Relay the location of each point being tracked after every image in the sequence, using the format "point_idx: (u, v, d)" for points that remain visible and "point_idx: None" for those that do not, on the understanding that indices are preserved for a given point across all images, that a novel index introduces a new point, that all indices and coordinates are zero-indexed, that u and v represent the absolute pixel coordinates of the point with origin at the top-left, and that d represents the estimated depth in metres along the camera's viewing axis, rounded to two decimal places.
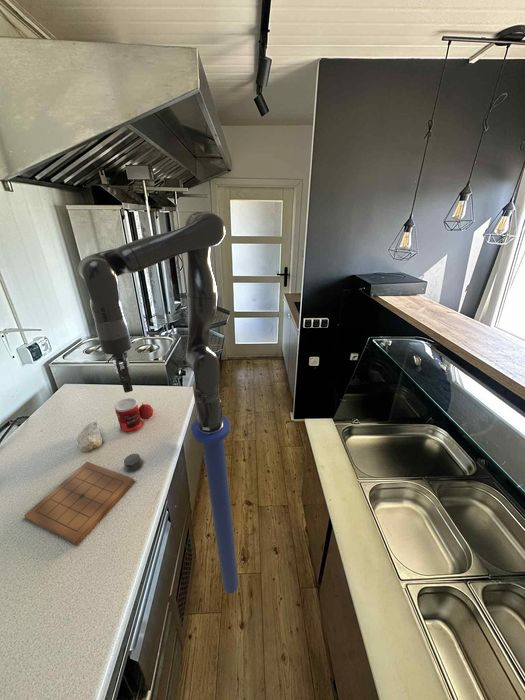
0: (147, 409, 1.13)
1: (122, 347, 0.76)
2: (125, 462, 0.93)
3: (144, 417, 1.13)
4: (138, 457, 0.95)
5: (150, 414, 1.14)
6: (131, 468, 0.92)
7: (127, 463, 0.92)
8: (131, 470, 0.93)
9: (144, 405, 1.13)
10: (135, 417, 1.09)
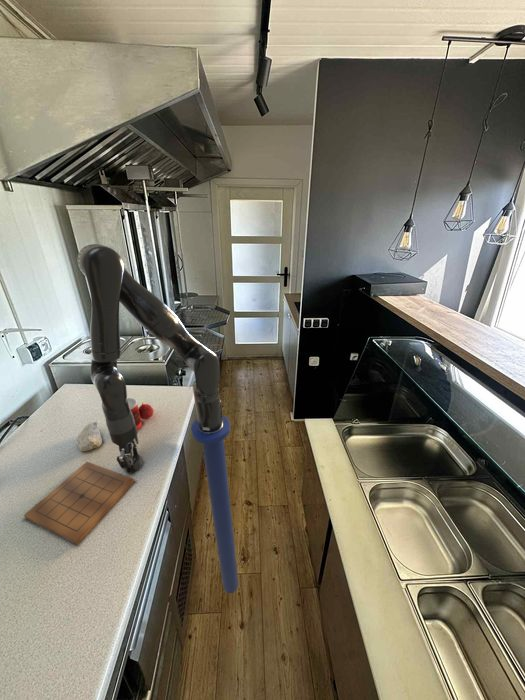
0: (147, 409, 1.13)
1: (125, 440, 0.86)
2: None
3: (144, 417, 1.13)
4: (138, 457, 0.95)
5: (150, 414, 1.14)
6: None
7: None
8: None
9: (144, 405, 1.13)
10: (135, 417, 1.09)
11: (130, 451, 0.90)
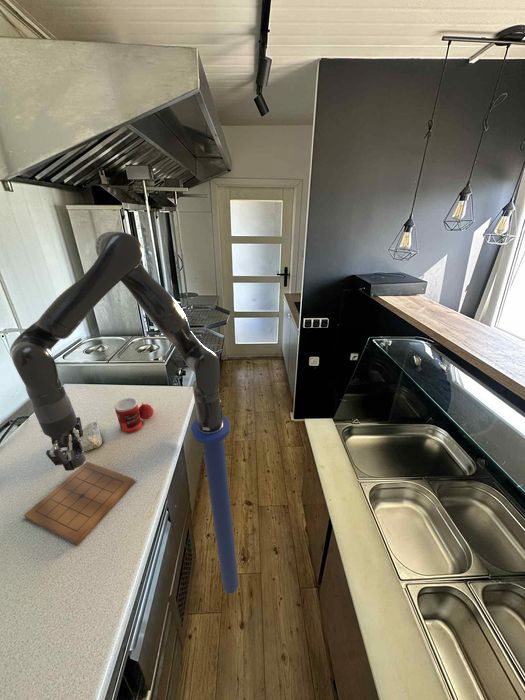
0: (147, 409, 1.13)
1: (57, 430, 0.71)
2: None
3: (144, 417, 1.13)
4: (80, 452, 0.79)
5: (150, 414, 1.14)
6: None
7: None
8: None
9: (144, 405, 1.13)
10: (135, 417, 1.09)
11: (67, 444, 0.74)
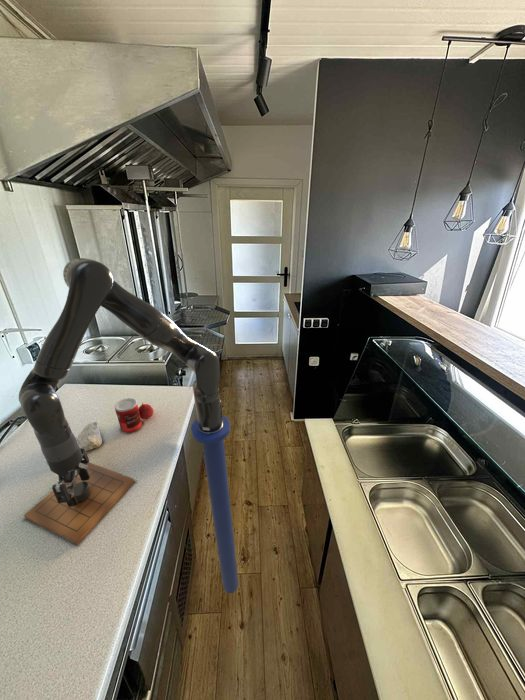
0: (147, 409, 1.13)
1: (64, 468, 0.74)
2: None
3: (144, 417, 1.13)
4: (86, 486, 0.83)
5: (150, 414, 1.14)
6: None
7: None
8: None
9: (144, 405, 1.13)
10: (135, 417, 1.09)
11: None
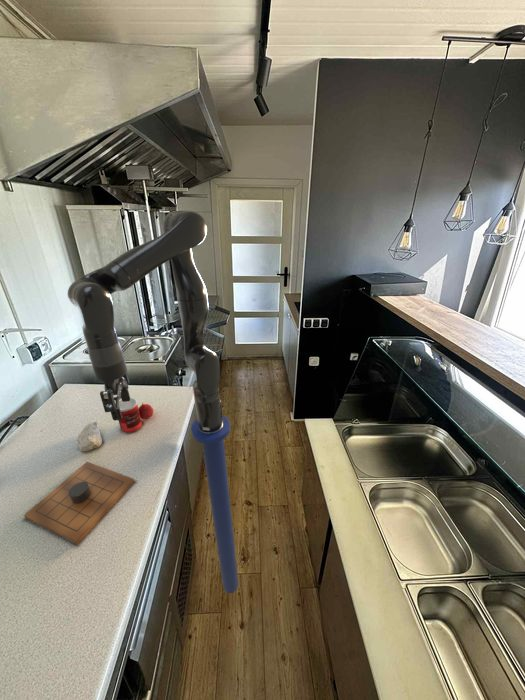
0: (147, 409, 1.13)
1: (111, 375, 0.72)
2: (70, 493, 0.81)
3: (144, 417, 1.13)
4: (86, 486, 0.83)
5: (150, 414, 1.14)
6: (76, 500, 0.81)
7: (72, 494, 0.81)
8: (77, 502, 0.81)
9: (144, 405, 1.13)
10: (135, 417, 1.09)
11: None
